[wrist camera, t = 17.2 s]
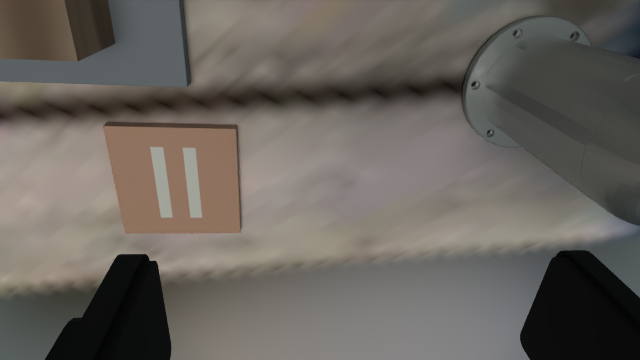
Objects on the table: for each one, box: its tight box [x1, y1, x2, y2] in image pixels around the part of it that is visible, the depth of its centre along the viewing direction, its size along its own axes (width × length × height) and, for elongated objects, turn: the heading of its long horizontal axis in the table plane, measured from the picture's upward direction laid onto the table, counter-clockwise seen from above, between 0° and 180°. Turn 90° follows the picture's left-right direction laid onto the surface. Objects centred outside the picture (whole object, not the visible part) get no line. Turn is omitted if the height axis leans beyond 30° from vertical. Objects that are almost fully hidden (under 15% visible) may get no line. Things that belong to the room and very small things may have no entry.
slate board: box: [0, 0, 191, 87], centre depth 32 cm, size 16×12×2 cm
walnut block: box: [0, 0, 115, 62], centre depth 29 cm, size 5×5×7 cm
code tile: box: [103, 122, 241, 233], centre depth 41 cm, size 12×12×1 cm
